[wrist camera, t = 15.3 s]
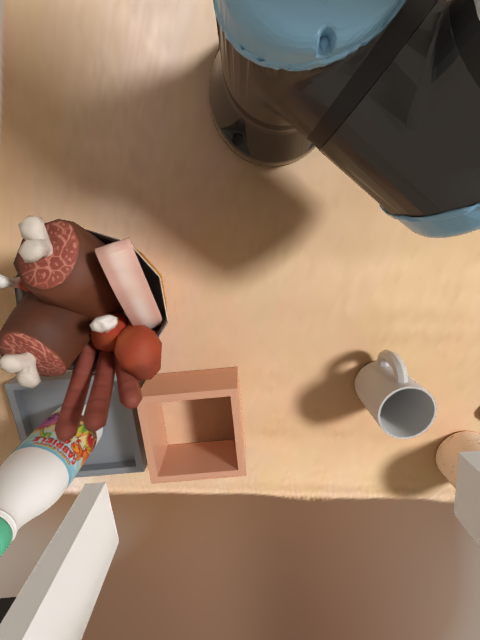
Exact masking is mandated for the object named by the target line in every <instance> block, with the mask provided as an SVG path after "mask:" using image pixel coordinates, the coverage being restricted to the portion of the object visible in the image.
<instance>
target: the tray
mask: <svg viewBox="0 0 480 640" xmlns="http://www.w3.org/2000/svg"><path fill="white" fill-rule="evenodd" d="M72 373H73V372H66V373H64V374H63V375H59V376H51V377H47V376H40V375H39V376H40V379H41V382H40V383H39V384H38V385H37V386H35V387H34V388H30V387H25V386H20V384H19V382H18V380H17V377H15V378H13V379H12V380H10V381H9V382H7V383H6V384H4V385H5V389H6V392H7V396H8V399H9V402H10V406H11V409H12V413H13V416H14V419H15V423H16V426H17V429H18V433H19V436H20V440H21V443H22V442H23V441H24V440H25V439H26V438H27V437H28V436H29V435H30V434H31V433H32V432H33V431H34V430H35V429H37V428H38V427H39V426H40V425H41V424H42V423H43V422H44V421H45V420H46V419H47V418H48V417H49V416H50V415H51V414H52V413H53V412H54V411H55V410H57V409H58V408H59V407H60V406H62V404H63V401H64V398H65V395H66V392H67V389H68V386H69V383H70V380H71V376H72ZM94 376H95V375H92V377H91V382H90V386H89V390H88V393H87V397H86V401H85V404H86V405H87V401H88V398H89V394H90V391H91V387H92V384H93V380H94ZM146 465H147V458H146V452H145V447H144V442H143V436H142V431H141V426H140V421H139V415H138V410H137V407H136V408H134V409H126V408H125V407H124V406H123V405H122V404H121V403H120V400H119V392H118V385H117V377H116V373H115V378H114V386H113V391H112V396H111V402H110V407H109V412H108V417H107V422H106V425H105V426H104V427H103V433H102V436H101V438H100V440H99V442H98V443H97V445H96V446H95V448H94V449H93V451H92V452H91V454H90V455H89V457H88V458H87V460H86V461H85V463H84V464H83V466H82V467H81V469H80V470H79V471H78V473H77V474H76V476H75V477H87V476H99V475H110V474H122V473H134V472H144V471H145V468H146ZM75 477H74V478H75Z"/></svg>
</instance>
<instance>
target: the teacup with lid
mask: <svg viewBox="0 0 480 640" xmlns="http://www.w3.org/2000/svg"><path fill="white" fill-rule="evenodd" d="M469 451H480V434H479V433H476V432H472V431H462V432H458V433H455V434H453V435H451V436H449V437H448V438H446V439H445V440H444V441H443V442H442V443H441V444H440V446H439V448H438V450H437V453H436V464H437V467H438V469H439V470H440V471H441V472H442V474H443V475H444V476H445V477H446V478H447V479H448V481H449V482H450V483H451V484H452V485H453V486H454V488H455V489H456V482H457V470H458V459H459V452H469Z"/></svg>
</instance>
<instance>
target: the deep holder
mask: <svg viewBox="0 0 480 640" xmlns="http://www.w3.org/2000/svg"><path fill="white" fill-rule="evenodd" d="M141 394H142V398H143V399H142V400H141V402H140V404H139V405H138V407H137V410H138V415H139V421H140V426H141V431H142V436H143V442H144V447H145V452H146V458H147V463H148V468H149V473H150V479H151V484H154V483H166V482H178V481H190V480H202V479H214V478H226V477H237V476H246V452H245V437H244V427H243V417H242V407H241V397H240V387H239V377H238V367H230V368H218V369H207V370H196V371H185V372H173V373H162V374H156V375H155V376H154V377H153V378H152V379H151V380H146V381H145V382H144V384H143V386H142V387H141ZM228 396H230V397H231V406H232V415H233V425H234V434H235V439H232V440H221V441H209V442H197V443H186V444H174V445H168V442H167V436H166V430H165V424H164V418H163V412H162V406H161V402H171V401H182V400H194V399H205V398H216V397H228Z"/></svg>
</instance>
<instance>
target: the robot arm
mask: <svg viewBox="0 0 480 640" xmlns="http://www.w3.org/2000/svg"><path fill="white" fill-rule="evenodd" d="M213 3H214V9H215V14H216V21H217V29H218V37H219V45H220V48H219V50H218V52H217V54H216V56H215V59H214V62H213V65H212V69H211V74H210V81H209V99H210V106H211V111H212V115H213V119H214V122H215V125H216V127H217V130H218V132H219V134H220V135H221V137H222V139H223V140H224V141H225V143H226V144H227V145H228V146H229V147H230V149H231V150H232V151H234V152H235V153H236V154H237V155H238V156H240V157H241V158H243V159H245V160H247V161H249V162H251V163H254V164H257V165H261V166H268V167H275V166H283V165H287V164H290V163H293V162H295V161H297V160H299V159H301V158H303V157H304V156H306V155H307V154H308V153H310V152H311V151H312V150H313V149H314V148H315V147H317V148H318V149H319V151H321V152H322V153H323V154H324V155H325V156H326V157H327V158H328V159H330V160H331V161H332V162H333V163H334V164H335V165H336V166H337V167H339V168H340V169H341V170H342V171H343V172H344V173H345V174H346V175H348V176H349V177H350V178H351V179H352V180H353V181H354V182H356V183H357V184H358V185H359V186H360V187H361V188H362V189H363V190H365V191H366V192H367V193H368V194H369V195H370V196H371V197H372V198H374V199H375V200H376V201H377V202H378V203H379V204H380V207H381V208H382V210H383V211H384V212H385V213H386V214H387V215H389V216H391V217H393V218H395V219H398V220H399V221H400V222H401V223H403V224H404V225H405V226H406V227H408V228H409V229H410V230H412V231H413V232H415V233H417V234H419V235H422V236H425V237H431V238H446V237H453V236H458V235H462V234H466V233H469V232H472V231H475V230H478V229H480V0H213ZM454 515H455V516H456V517H457V518H458V520H459V521H460V522H461V524H462V525H463V526H464V527H465V529H466V530H467V531H468V532H469V534H470V535H471V536H472V538H473V539H474V540H475V542H476V543H477V544H478V545H479V547H480V451H469V452H459V459H458V470H457V482H456V493H455V505H454ZM118 543H119V538H118V534H117V529H116V525H115V521H114V516H113V512H112V508H111V504H110V499H109V494H108V490H107V486H106V482H103V483H91V484H85V485H84V487H83V489H82V490H81V492H80V494H79V495H78V497H77V499H76V500H75V502H74V504H73V506H72V507H71V508H70V510H69V512H68V513H67V515H66V517H65V519H64V520H63V522H62V523H61V525H60V527H59V528H58V530H57V531H56V533H55V535H54V537H53V538H52V540H51V541H50V543H49V545H48V546H47V548H46V550H45V551H44V553H43V554H42V556H41V558H40V559H39V561H38V563H37V564H36V566H35V568H34V569H33V571H32V573H31V574H30V576H29V577H28V579H27V581H26V583H25V584H24V586H23V587H22V589H21V591H20V592H19V594H18V596H17V597H11V598H1V599H0V640H81V639H82V636H83V634H84V631H85V629H86V626H87V623H88V621H89V618H90V616H91V613H92V610H93V608H94V605H95V603H96V600H97V597H98V595H99V592H100V590H101V587H102V584H103V582H104V579H105V577H106V574H107V571H108V569H109V566H110V564H111V561H112V558H113V556H114V553H115V551H116V548H117V545H118Z"/></svg>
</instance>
